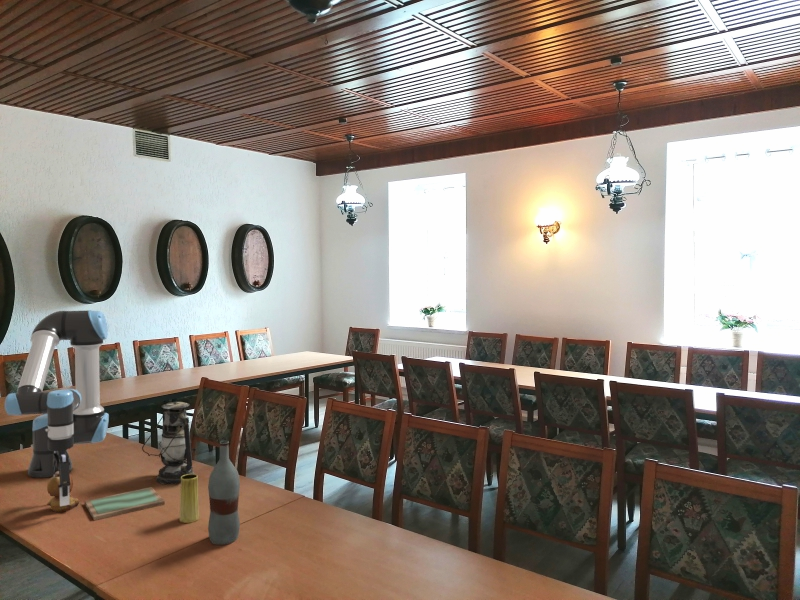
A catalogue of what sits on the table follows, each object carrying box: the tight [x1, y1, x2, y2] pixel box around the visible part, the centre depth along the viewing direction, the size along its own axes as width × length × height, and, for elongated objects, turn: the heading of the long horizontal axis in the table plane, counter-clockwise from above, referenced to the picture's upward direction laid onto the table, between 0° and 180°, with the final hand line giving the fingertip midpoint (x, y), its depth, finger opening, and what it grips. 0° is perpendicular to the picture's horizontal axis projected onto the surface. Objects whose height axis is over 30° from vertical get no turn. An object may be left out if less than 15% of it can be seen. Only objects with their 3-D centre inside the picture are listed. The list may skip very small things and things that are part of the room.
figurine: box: [46, 471, 80, 513], centre depth 193 cm, size 10×8×15 cm
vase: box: [179, 473, 200, 524], centre depth 187 cm, size 6×6×14 cm
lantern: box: [141, 401, 197, 485], centre depth 222 cm, size 19×19×30 cm
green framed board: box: [84, 486, 166, 521], centre depth 199 cm, size 16×22×1 cm
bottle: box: [207, 440, 241, 546], centre depth 174 cm, size 9×9×30 cm
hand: (61, 498), depth 194 cm, fingers open, 13 cm apart
